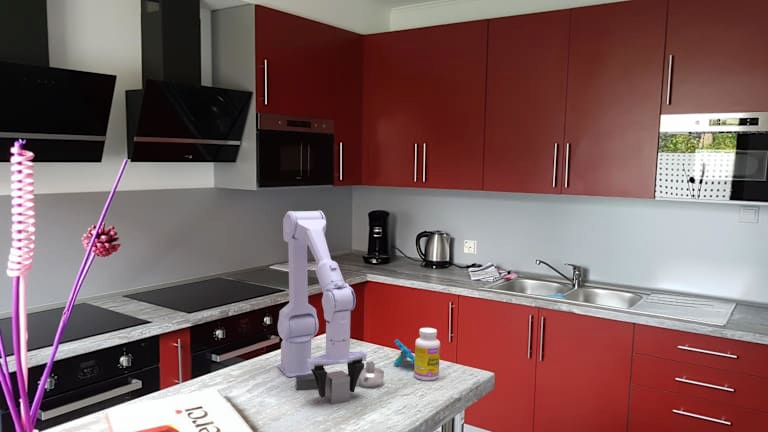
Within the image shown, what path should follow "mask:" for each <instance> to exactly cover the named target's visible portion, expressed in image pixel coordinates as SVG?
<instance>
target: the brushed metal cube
mask: <svg viewBox="0 0 768 432" xmlns="http://www.w3.org/2000/svg"><path fill="white" fill-rule="evenodd" d="M350 394H351V392H350V376H348V375H347V374H346V372H345V371H343V370H336V371H329V372H327V376H326V383H325V397H324V399H325V400H326V401H327V402H329V403H330V405H336V404H340V403H346V402H350Z"/></svg>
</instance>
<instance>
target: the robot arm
mask: <svg viewBox="0 0 768 432" xmlns="http://www.w3.org/2000/svg"><path fill="white" fill-rule="evenodd" d="M283 217H284V218H283V219H282V230H283V231H282V232H283V233H282V234H283V241H284V242H286V243H287V244H288V293H289V294H288V299H289V300H288V301H289V302H288V303H287V304H286V305H285V306H284V307H283V308H281V309H280V310H279V313H278V314H279V315H278V321H277V332H278V335H279V337H280V338H281V339H282V341H281V342H280V364H277V368H278V369H279V370H281V371H282V373H283V374H284V375H286V377H288V378H292V377H293V378H294V377H296V375H309V374H313V375H314V377H315V380H316V383H317V386H318V389H317V390H318V395H319V396H320V398H322V399H323V398H324V397H325V383H326V376H327V373H328V371H326V369H325V367H327V366H335V365H344V364H345V365H347V373H348V376H350V393H354V392H355V389H356V387H357V386H356V383H357V380H358V378H359V376H360V374H361V372H362V370H363V369H364V368H365V363H364V362H367V352H365V351H362V350H361V351H350V350H351V346H350V345H351V341H350V339H351V311H353V310H355V307H356V303H357V301H356V294H355V291H354V289H353V288H352V287H351V286H349V283H347V282H345V280H344V276H343V274H342V272H341V270H340V267H339V263H338V262H336V261H334V260H332V258H331V254H330V251H329V246H328V243H327V239H326V235H325V233H326V230H327V218H326V216H325V213H324V212H323V211H322V210H320V209H318V210H309V211H308V210H307V211H305V210H303V211H302V210H300V211H292V210H289V211H287V212H286V213H285V215H284V216H283ZM308 248H309V249H310V252H311V254H312V255H313V257H314V260H315V262H316V264H317V266H316V268H315V275H316V277H317V280H318V282H319V285H320V288H321V291H322V298H321V305H322V309H323V317H324V320H325V321H326V322H325V353H324V354H322V355H319V356H315V357H312V340H314V339H315V337H314V336H316V335H317V334H318V331H319V327H320V326H319V325H320V324H319V319H318V315H317V309H316V308H315V307H314V306H313V305H311V304H310V303H309V293H308V292H309V290H308V289H309V286H308V281H309V279H308V275H309V274H308ZM324 399H325V398H324Z"/></svg>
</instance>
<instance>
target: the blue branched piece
mask: <svg viewBox="0 0 768 432" xmlns="http://www.w3.org/2000/svg"><path fill="white" fill-rule="evenodd" d="M394 343H395V345H396V346H397V347H398V348H399V350H401V351H400V352H399V353H400V354H399V356H397V358H395V363H394V364H393V365H394V366H395V367H396V368H397V367H398V366H399V365H400V364H401V363H402V362H403V361H404V360H407V359H410V360H411V362H412V363H413V365H415V354H413V353H412V350H411V349H408V347H406V345H404V344H403V343H402V342H401V341H400V340H399V339H395V340H394Z"/></svg>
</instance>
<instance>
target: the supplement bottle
mask: <svg viewBox="0 0 768 432" xmlns="http://www.w3.org/2000/svg"><path fill="white" fill-rule="evenodd" d="M418 333H419V337H418V338H416V340H415V344H414V345H415V347H414V357H415V364H413V365H414V370H413V372H414V373H413V375H414V377H415V378H416V379H418V380H421V381H434V380H437V379H438V378H439V375H440V353H441V342H440V340H439V339H437V336H438V330H437V329H436V328H432V327H421V328H419V332H418Z"/></svg>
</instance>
